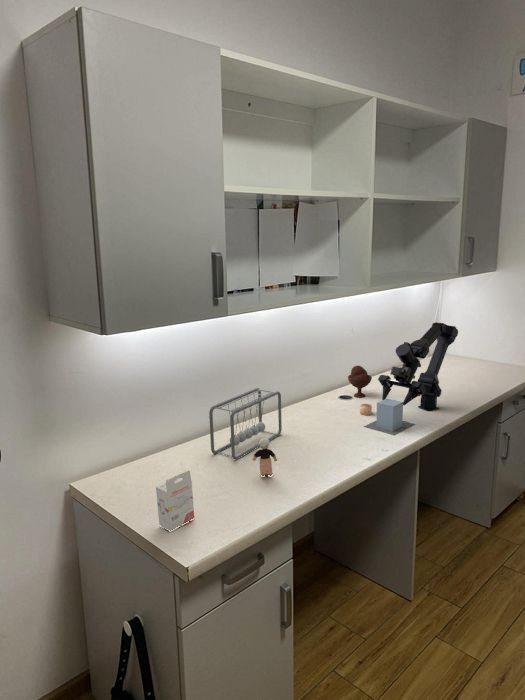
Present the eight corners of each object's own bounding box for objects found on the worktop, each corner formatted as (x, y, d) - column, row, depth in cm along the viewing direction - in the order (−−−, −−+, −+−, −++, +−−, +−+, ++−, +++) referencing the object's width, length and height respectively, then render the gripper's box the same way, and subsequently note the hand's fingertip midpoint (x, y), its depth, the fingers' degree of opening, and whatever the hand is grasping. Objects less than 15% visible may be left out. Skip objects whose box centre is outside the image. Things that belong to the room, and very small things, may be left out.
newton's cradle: (260, 429, 208) (259, 386, 204) (282, 434, 202) (281, 390, 198) (210, 455, 184) (208, 407, 181) (233, 462, 178) (231, 412, 175)
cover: (386, 422, 211) (386, 398, 209) (402, 426, 206) (403, 402, 204) (376, 426, 206) (376, 402, 204) (392, 431, 201) (393, 406, 199)
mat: (385, 417, 218) (385, 416, 218) (415, 425, 208) (415, 424, 208) (363, 427, 207) (363, 426, 207) (394, 436, 197) (394, 435, 197)
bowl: (366, 412, 225) (366, 403, 224) (373, 415, 221) (374, 406, 220) (357, 414, 223) (357, 404, 222) (364, 417, 218) (365, 408, 218)
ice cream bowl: (371, 399, 241) (372, 368, 238) (347, 399, 243) (347, 367, 240) (371, 393, 251) (372, 362, 248) (348, 392, 253) (348, 362, 250)
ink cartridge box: (183, 514, 146) (179, 464, 142) (194, 520, 142) (191, 469, 139) (158, 527, 139) (154, 475, 136) (169, 533, 136) (166, 481, 133)
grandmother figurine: (275, 471, 170) (275, 435, 167) (278, 477, 166) (277, 439, 163) (252, 474, 169) (251, 437, 166) (254, 479, 165) (252, 441, 162)
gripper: (381, 355, 212) (364, 387, 207) (423, 362, 199) (407, 396, 194) (390, 370, 219) (375, 401, 214) (432, 378, 206) (417, 411, 201)
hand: (393, 402), depth 205 cm, fingers open, 9 cm apart
